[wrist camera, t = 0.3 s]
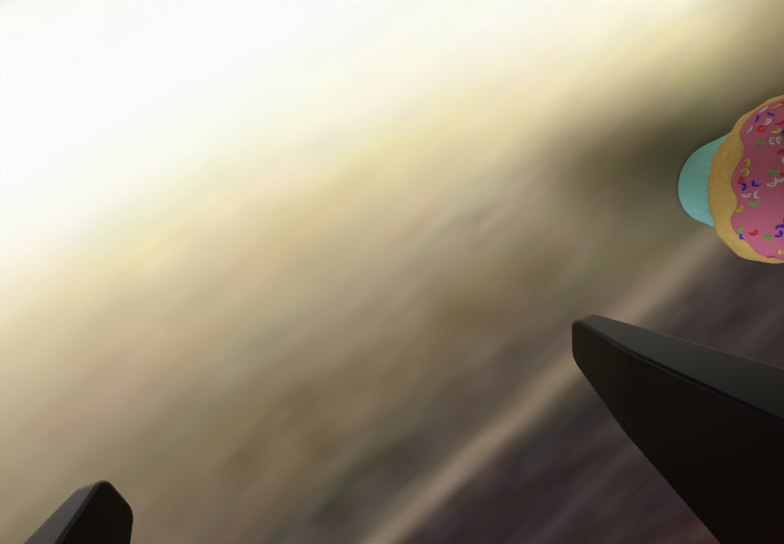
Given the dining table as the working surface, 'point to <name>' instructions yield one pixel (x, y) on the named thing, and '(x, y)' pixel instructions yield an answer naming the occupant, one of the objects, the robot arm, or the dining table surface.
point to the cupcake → (742, 184)
